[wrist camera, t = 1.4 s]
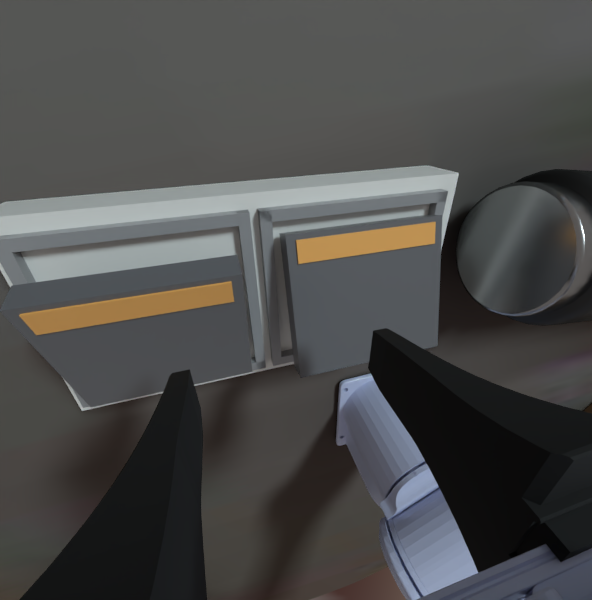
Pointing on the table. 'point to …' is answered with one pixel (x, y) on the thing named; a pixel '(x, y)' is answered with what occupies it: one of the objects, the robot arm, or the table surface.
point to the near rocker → (137, 326)
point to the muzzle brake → (531, 249)
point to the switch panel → (211, 234)
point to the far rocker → (360, 288)
